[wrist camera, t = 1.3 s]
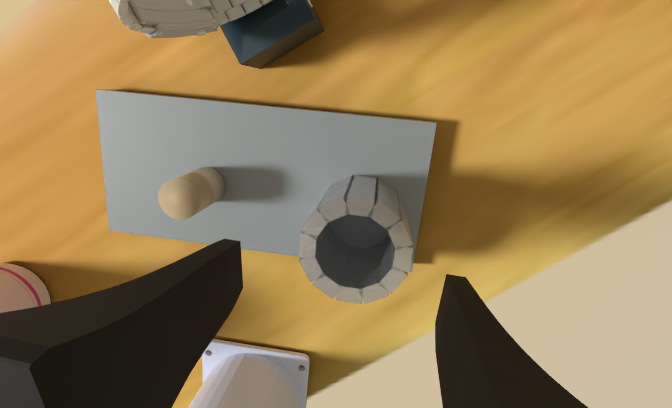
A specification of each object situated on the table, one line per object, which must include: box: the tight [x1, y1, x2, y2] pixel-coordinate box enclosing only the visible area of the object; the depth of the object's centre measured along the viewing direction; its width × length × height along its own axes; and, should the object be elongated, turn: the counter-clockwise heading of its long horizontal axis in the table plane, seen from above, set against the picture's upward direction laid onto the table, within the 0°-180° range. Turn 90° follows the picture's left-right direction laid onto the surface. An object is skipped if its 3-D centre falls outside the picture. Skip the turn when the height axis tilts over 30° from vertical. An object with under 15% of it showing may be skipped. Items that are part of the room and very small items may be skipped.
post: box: [158, 167, 226, 220], centre depth 21 cm, size 2×2×4 cm
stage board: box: [96, 89, 437, 272], centre depth 23 cm, size 9×20×1 cm, turn 85°
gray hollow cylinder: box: [299, 175, 413, 304], centre depth 20 cm, size 5×5×5 cm
